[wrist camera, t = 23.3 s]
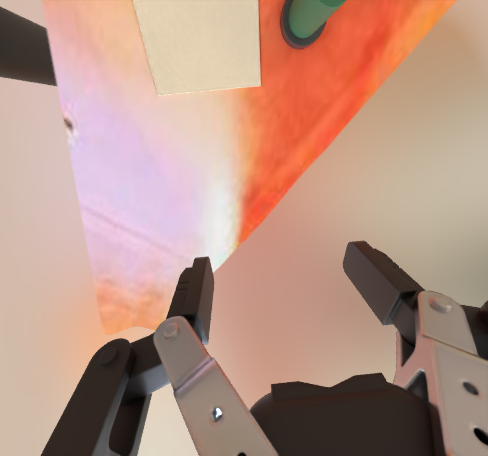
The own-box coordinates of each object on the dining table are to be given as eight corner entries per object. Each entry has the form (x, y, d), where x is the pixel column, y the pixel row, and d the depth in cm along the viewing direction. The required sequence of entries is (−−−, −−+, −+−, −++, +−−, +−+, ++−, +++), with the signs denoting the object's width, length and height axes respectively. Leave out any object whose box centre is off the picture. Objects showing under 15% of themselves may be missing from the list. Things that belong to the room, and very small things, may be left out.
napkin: (158, 95, 29) (157, 95, 29) (120, -50, 22) (119, -51, 22) (260, 85, 29) (260, 85, 29) (256, -62, 22) (256, -64, 22)
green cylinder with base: (279, 51, 27) (301, 22, 19) (280, -11, 24) (307, -80, 16) (320, 47, 27) (361, 16, 19) (326, -16, 24) (378, -86, 16)
